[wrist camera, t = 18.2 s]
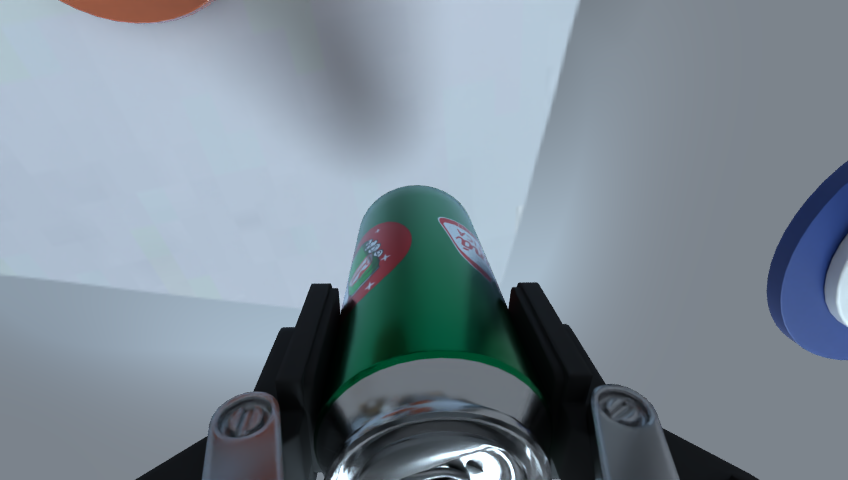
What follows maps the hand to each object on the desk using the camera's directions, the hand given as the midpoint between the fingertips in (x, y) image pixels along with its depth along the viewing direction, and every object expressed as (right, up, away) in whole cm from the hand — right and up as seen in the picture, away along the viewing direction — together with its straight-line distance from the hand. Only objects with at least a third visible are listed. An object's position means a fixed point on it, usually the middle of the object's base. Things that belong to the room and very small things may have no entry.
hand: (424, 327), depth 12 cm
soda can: (0, +3, +6) cm, 7 cm away
